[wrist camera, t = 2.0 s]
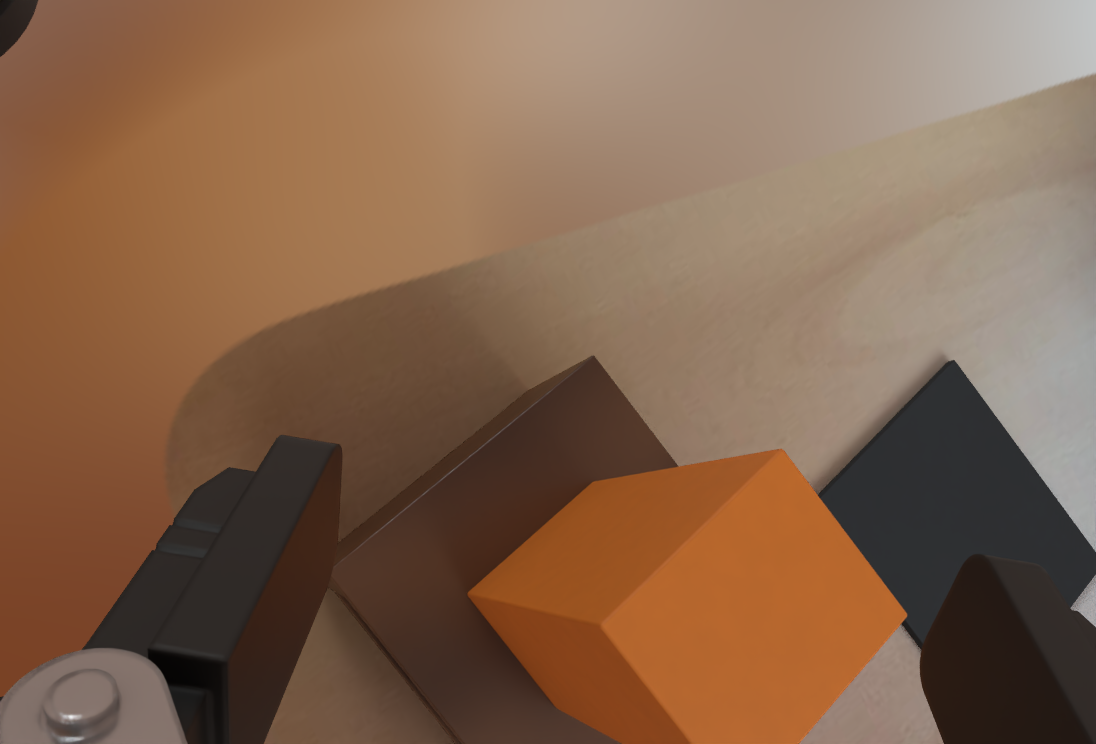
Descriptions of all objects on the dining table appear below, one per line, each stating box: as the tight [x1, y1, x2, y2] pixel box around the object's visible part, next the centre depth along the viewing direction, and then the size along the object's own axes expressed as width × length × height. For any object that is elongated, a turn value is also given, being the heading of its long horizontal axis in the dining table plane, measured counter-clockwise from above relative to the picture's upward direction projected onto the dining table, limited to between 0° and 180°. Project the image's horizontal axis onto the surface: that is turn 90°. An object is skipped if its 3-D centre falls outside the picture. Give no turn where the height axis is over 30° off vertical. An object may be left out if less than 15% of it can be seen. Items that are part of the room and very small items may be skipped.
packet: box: [467, 449, 907, 744], centre depth 25 cm, size 5×6×12 cm
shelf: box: [328, 356, 678, 744], centre depth 34 cm, size 12×12×8 cm
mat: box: [818, 360, 1096, 649], centre depth 46 cm, size 14×12×1 cm
